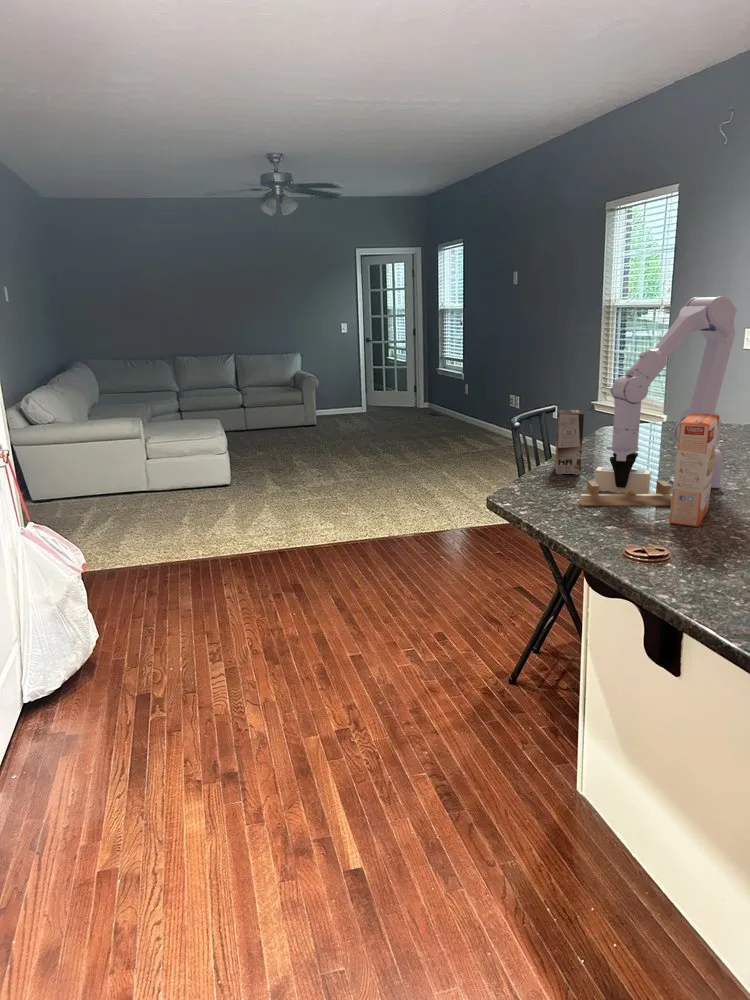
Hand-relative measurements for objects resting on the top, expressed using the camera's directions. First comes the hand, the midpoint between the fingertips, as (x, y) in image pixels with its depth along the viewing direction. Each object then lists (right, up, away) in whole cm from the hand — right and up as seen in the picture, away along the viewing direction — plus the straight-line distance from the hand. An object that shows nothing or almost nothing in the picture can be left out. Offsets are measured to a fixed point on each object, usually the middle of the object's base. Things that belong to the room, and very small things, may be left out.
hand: (622, 484), depth 167 cm
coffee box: (-7, +4, +21) cm, 22 cm away
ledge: (-2, -4, -9) cm, 10 cm away
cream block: (0, -1, 0) cm, 2 cm away
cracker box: (+7, -7, -21) cm, 23 cm away
